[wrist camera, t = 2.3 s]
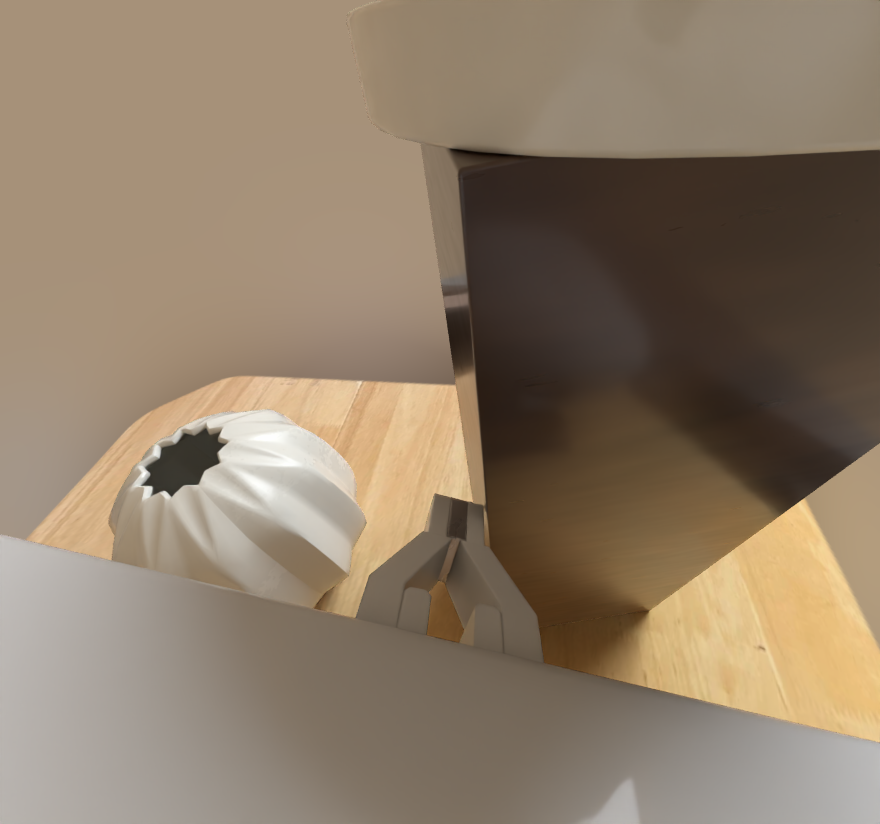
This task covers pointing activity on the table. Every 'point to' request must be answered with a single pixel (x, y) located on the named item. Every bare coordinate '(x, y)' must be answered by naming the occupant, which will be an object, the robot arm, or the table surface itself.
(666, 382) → the stand
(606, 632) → the table surface
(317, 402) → the table surface
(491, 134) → the beige frying pan
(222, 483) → the vase
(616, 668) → the table surface
